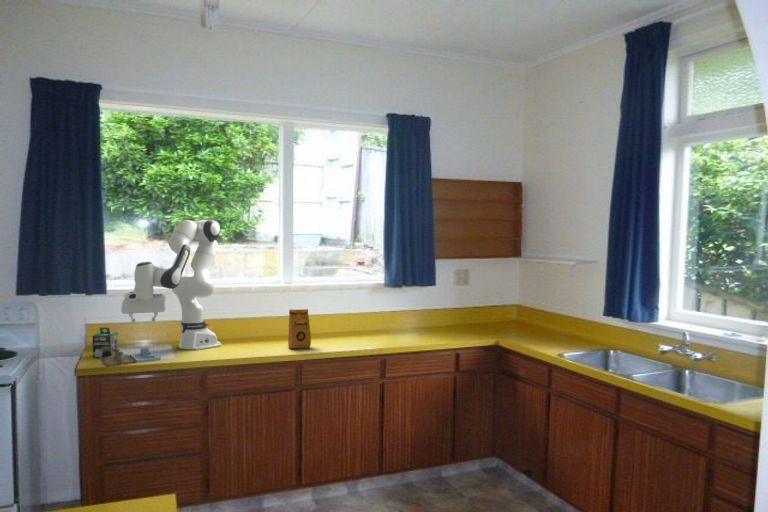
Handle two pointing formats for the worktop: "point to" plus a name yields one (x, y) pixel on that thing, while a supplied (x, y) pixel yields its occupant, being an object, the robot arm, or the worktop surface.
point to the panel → (139, 359)
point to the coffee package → (299, 329)
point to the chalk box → (105, 343)
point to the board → (117, 358)
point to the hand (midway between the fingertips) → (143, 321)
